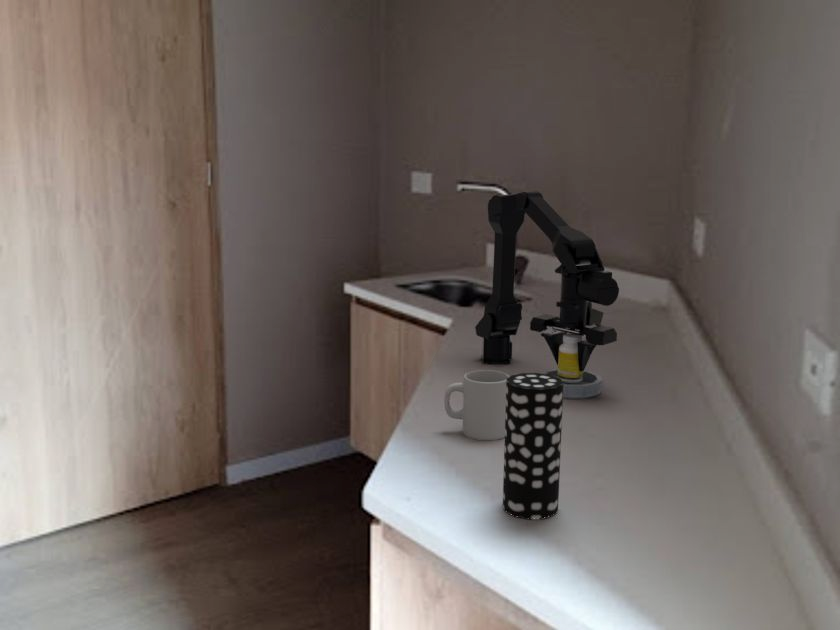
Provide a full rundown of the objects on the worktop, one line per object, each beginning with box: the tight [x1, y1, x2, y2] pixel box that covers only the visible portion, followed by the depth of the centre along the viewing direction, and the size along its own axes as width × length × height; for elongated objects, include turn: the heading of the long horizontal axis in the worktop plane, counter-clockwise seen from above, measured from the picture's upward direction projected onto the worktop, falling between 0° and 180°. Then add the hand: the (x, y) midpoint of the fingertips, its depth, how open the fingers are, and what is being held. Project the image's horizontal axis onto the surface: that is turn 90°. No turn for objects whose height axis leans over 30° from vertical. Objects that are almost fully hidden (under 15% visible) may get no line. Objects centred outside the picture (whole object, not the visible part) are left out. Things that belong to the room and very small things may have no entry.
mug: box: [443, 369, 510, 441], centre depth 170 cm, size 12×8×11 cm
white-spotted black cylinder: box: [502, 372, 564, 520], centre depth 137 cm, size 8×8×20 cm
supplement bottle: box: [557, 333, 583, 383], centre depth 196 cm, size 5×5×10 cm
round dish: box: [541, 368, 603, 400], centre depth 197 cm, size 13×13×3 cm
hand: (570, 368), depth 197 cm, fingers closed on supplement bottle, 5 cm apart
